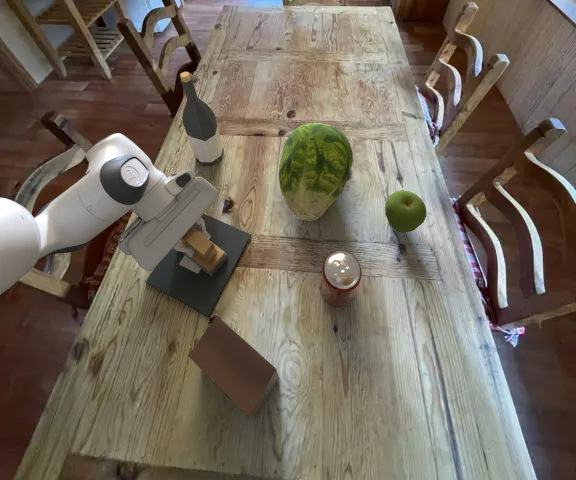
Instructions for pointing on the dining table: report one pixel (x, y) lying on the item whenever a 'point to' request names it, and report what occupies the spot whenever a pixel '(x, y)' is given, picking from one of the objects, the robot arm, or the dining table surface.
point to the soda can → (340, 278)
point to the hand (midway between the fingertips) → (199, 245)
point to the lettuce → (314, 169)
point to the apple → (405, 211)
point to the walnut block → (235, 367)
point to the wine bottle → (200, 125)
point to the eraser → (203, 252)
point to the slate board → (192, 279)
